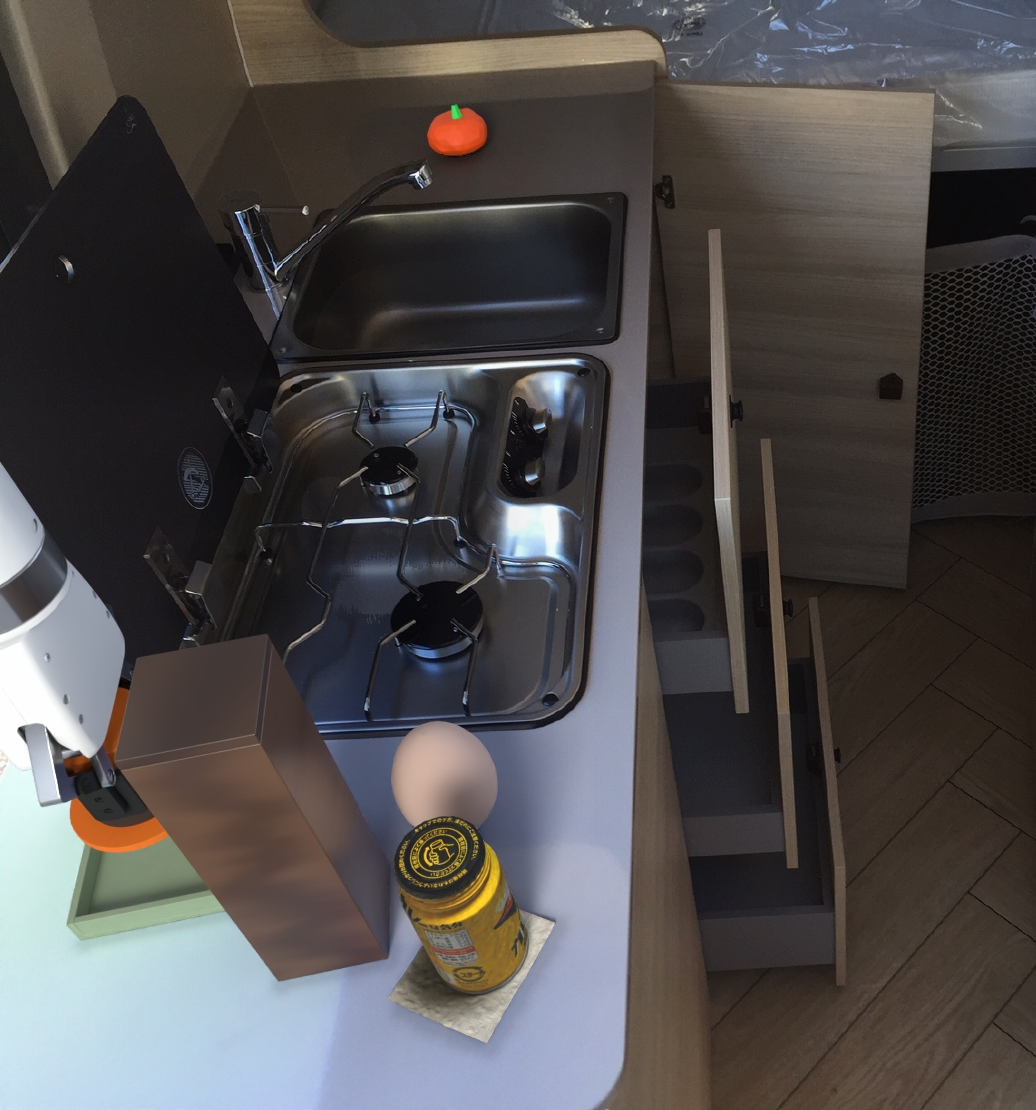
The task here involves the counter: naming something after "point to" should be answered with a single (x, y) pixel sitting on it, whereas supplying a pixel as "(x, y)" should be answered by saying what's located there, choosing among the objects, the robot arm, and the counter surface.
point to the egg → (443, 775)
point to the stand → (257, 804)
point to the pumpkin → (457, 132)
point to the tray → (136, 890)
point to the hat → (121, 831)
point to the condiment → (462, 928)
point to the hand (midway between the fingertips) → (132, 768)
